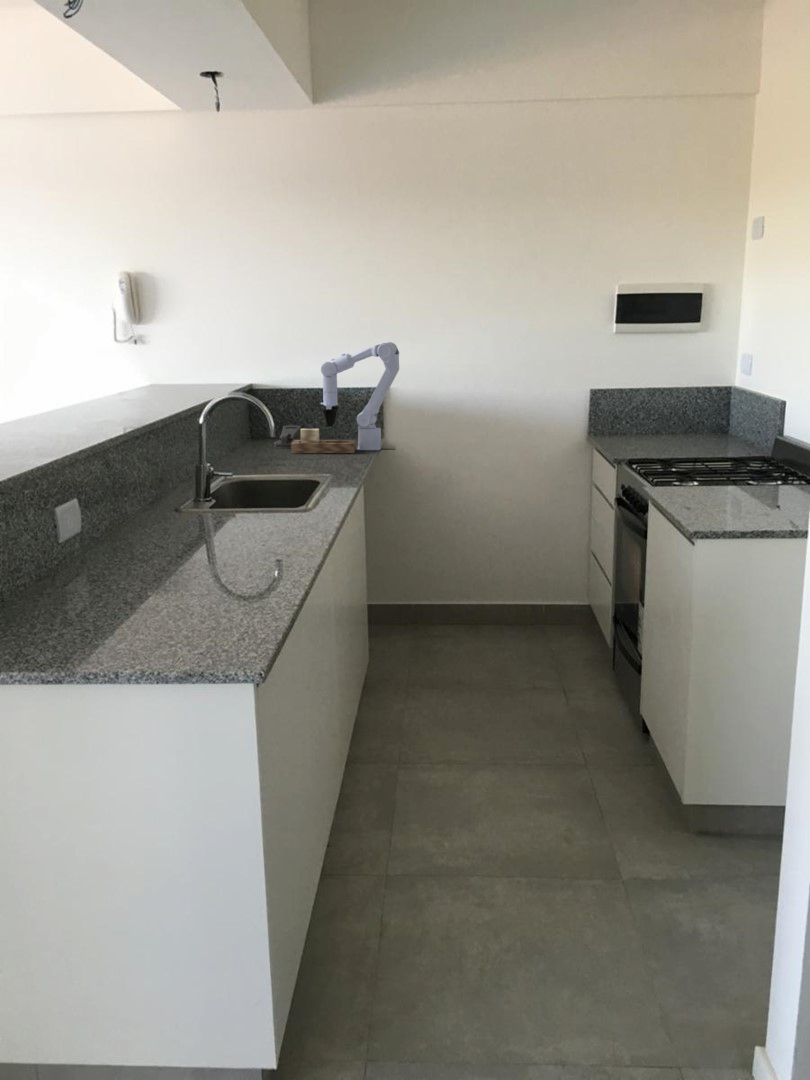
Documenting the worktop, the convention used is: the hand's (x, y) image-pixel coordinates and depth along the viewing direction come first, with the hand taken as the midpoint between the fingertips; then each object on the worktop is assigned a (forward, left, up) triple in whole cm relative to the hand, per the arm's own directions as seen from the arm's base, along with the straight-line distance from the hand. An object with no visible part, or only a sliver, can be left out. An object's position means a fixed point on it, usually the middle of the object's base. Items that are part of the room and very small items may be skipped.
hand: (330, 425), depth 374 cm
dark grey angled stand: (+19, -11, -10) cm, 24 cm away
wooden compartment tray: (+2, +10, -9) cm, 14 cm away
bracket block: (+8, +10, -8) cm, 15 cm away
